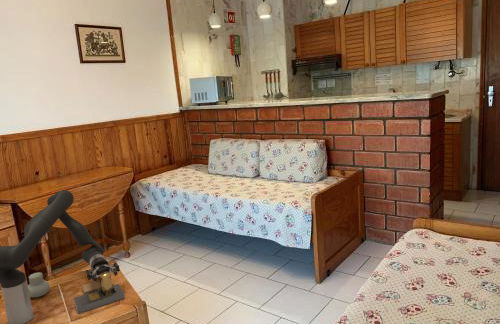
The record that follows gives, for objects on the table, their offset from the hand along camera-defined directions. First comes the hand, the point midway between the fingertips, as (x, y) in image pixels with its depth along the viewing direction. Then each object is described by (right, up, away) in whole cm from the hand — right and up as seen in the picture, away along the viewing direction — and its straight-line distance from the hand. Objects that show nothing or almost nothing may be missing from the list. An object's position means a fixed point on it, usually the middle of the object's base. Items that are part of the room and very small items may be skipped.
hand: (106, 276), depth 177 cm
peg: (0, -11, +3) cm, 11 cm away
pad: (-11, -10, +12) cm, 19 cm away
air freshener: (-36, -12, +12) cm, 40 cm away
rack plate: (-3, -11, +1) cm, 12 cm away
